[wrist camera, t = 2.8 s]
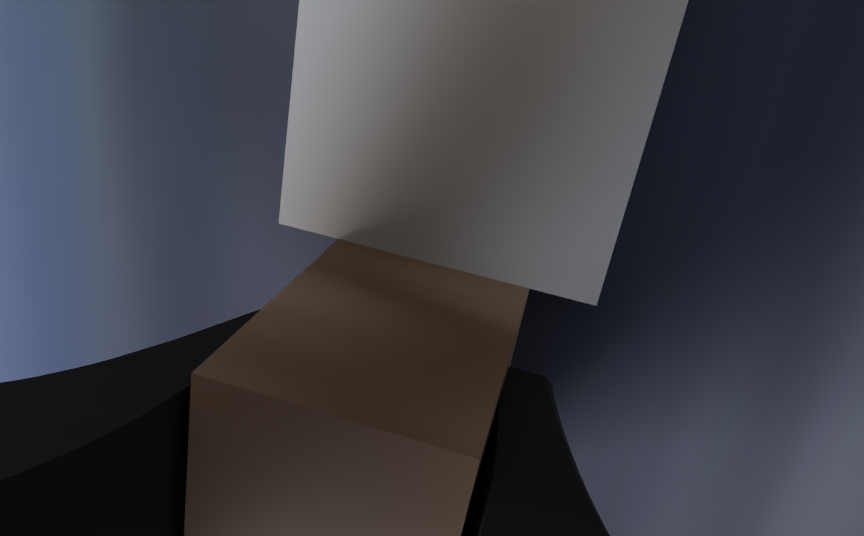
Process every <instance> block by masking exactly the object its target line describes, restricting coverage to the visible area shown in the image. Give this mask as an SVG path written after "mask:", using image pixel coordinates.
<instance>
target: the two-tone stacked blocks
mask: <svg viewBox="0 0 864 536" xmlns="http://www.w3.org/2000/svg"><path fill="white" fill-rule="evenodd" d="M688 1H689V0H299V10H298V21H297V31H296V42H295V53H294V64H293V74H292V85H291V96H290V107H289V117H288V128H287V139H286V150H285V160H284V171H283V182H282V193H281V203H280V214H279V224H283V225H287V226H291V227H294V228H298V229H302V230H306V231H310V232H314V233H317V234H321V235H325V236H329V237H333V238H337V239H338V240H337V241H336V242H335V243H334V244H333V245H332V246H330V247H329V248H328V249H327V250H326V251H325V252H324V253H323V254H322V255H321V256H319V257H318V258H317V259H316V260H315V261H314V262H313V263H312V264H311V265H310V266H308V267H307V268H306V269H305V270H304V271H303V272H302V273H301V274H300V275H299V276H297V277H296V278H295V279H294V280H293V281H292V282H291V283H290V284H289V285H288V286H286V287H285V288H284V289H283V290H282V291H281V292H280V293H279V294H278V295H277V296H275V297H274V298H273V299H272V300H271V301H270V302H269V303H268V304H267V305H266V306H264V307H263V308H262V309H261V310H260V311H259V312H258V313H257V314H256V315H255V316H253V317H252V318H251V319H250V320H249V321H248V322H247V323H246V324H245V325H244V326H242V327H241V328H240V329H239V330H238V331H237V332H236V333H235V334H234V335H232V336H231V337H230V338H229V339H228V340H227V341H226V342H225V343H224V344H223V345H221V346H220V347H219V348H218V349H217V350H216V351H215V352H214V353H213V354H212V355H210V356H209V357H208V358H207V359H206V360H205V361H204V362H203V363H202V364H201V365H199V366H198V367H197V368H196V369H195V370H194V371H193V372H192V373H191V390H190V412H189V435H188V458H187V481H186V503H185V526H184V536H464V535H465V531H466V527H467V523H468V520H469V516H470V512H471V508H472V504H473V500H474V496H475V492H476V488H477V484H478V480H479V476H480V472H481V468H482V465H483V461H484V457H485V453H486V449H487V445H488V441H489V437H490V433H491V429H492V425H493V421H494V417H495V413H496V410H497V406H498V402H499V398H500V394H501V391H502V387H503V384H504V380H505V377H506V374H507V371H508V368H509V367H510V364H511V360H512V356H513V353H514V349H515V345H516V341H517V337H518V333H519V329H520V325H521V321H522V317H523V314H524V310H525V306H526V302H527V298H528V294H529V290H530V289H533V290H537V291H541V292H545V293H548V294H552V295H556V296H560V297H564V298H568V299H572V300H575V301H579V302H583V303H587V304H591V305H595V306H597V303H598V299H599V296H600V293H601V289H602V286H603V283H604V279H605V276H606V273H607V269H608V266H609V263H610V259H611V256H612V253H613V250H614V246H615V243H616V240H617V236H618V233H619V230H620V226H621V223H622V220H623V216H624V213H625V210H626V206H627V203H628V200H629V196H630V193H631V190H632V187H633V183H634V180H635V177H636V173H637V170H638V167H639V163H640V160H641V157H642V153H643V150H644V147H645V143H646V140H647V137H648V133H649V130H650V127H651V124H652V120H653V117H654V114H655V110H656V107H657V104H658V100H659V97H660V94H661V90H662V87H663V84H664V80H665V77H666V74H667V70H668V67H669V64H670V61H671V57H672V54H673V51H674V47H675V44H676V41H677V37H678V34H679V31H680V27H681V24H682V21H683V17H684V14H685V11H686V7H687V4H688Z"/></svg>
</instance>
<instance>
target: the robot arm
mask: <svg viewBox="0 0 864 536" xmlns="http://www.w3.org/2000/svg"><path fill="white" fill-rule="evenodd" d="M260 310H261V309H260ZM260 310H257V311H254V312H251V313H249V314H246V315H243V316H240V317H237V318H235V319H232V320H229V321H226V322H224V323H221V324H218V325H215V326H212V327H209V328H207V329H204V330H201V331H198V332H195V333H192V334H190V335H187V336H184V337H181V338H178V339H175V340H172V341H169V342H166V343H162V344H159V345H156V346H153V347H149V348H146V349H143V350H140V351H136V352H133V353H130V354H127V355H123V356H120V357H117V358H113V359H110V360H106V361H102V362H99V363H95V364H91V365H87V366H83V367H79V368H74V369H70V370H65V371H61V372H56V373H51V374H47V375H42V376H38V377H33V378H27V379H22V380H16V381H10V382H3V383H0V536H184V526H185V503H186V481H187V458H188V435H189V412H190V390H191V373H192V372H193V371H194V370H195V369H196V368H197V367H198V366H199V365H201V364H202V363H203V362H204V361H205V360H206V359H207V358H208V357H209V356H210V355H212V354H213V353H214V352H215V351H216V350H217V349H218V348H219V347H220V346H221V345H223V344H224V343H225V342H226V341H227V340H228V339H229V338H230V337H231V336H232V335H234V334H235V333H236V332H237V331H238V330H239V329H240V328H241V327H242V326H244V325H245V324H246V323H247V322H248V321H249V320H250V319H251V318H252V317H253V316H255V315H256V314H257V313H258V312H259V311H260ZM464 536H610V535H609V534H608V532H607V530H606V528H605V526H604V524H603V522H602V520H601V518H600V516H599V515H598V512H597V510H596V508H595V506H594V504H593V502H592V500H591V498H590V496H589V494H588V492H587V490H586V487H585V485H584V483H583V480H582V478H581V476H580V474H579V471H578V469H577V466H576V463H575V461H574V458H573V456H572V453H571V451H570V448H569V445H568V443H567V440H566V437H565V434H564V431H563V428H562V425H561V421H560V418H559V415H558V411H557V407H556V403H555V399H554V394H553V387H552V385H551V383H550V381H549V380H548V378H547V377H544V376H540V375H537V374H533V373H529V372H526V371H522V370H519V369H515V368H512V367H509V368H508V371H507V374H506V377H505V380H504V384H503V387H502V391H501V394H500V398H499V402H498V406H497V410H496V413H495V417H494V421H493V425H492V429H491V433H490V437H489V441H488V445H487V449H486V453H485V457H484V461H483V465H482V468H481V472H480V476H479V480H478V484H477V488H476V492H475V496H474V500H473V504H472V508H471V512H470V516H469V520H468V523H467V527H466V531H465V535H464Z"/></svg>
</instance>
